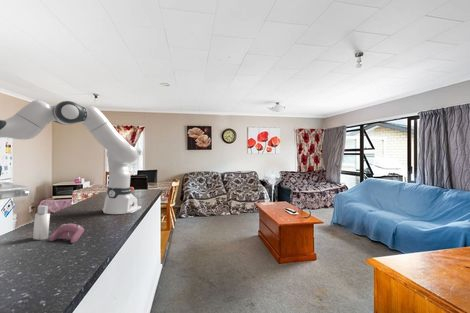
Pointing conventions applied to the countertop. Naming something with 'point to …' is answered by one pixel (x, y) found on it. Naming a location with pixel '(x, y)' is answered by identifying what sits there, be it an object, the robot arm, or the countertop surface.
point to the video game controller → (65, 230)
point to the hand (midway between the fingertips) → (14, 195)
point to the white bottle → (41, 223)
